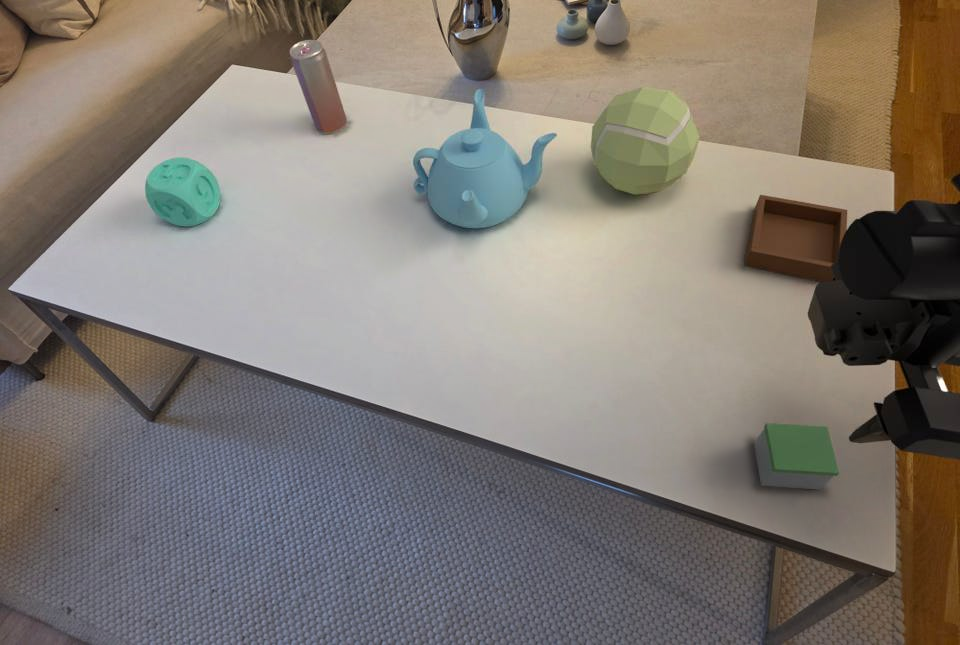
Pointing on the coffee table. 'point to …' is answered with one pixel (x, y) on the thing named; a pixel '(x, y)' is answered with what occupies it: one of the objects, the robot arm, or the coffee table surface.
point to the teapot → (478, 174)
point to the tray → (795, 238)
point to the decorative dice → (182, 191)
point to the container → (795, 456)
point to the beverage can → (318, 86)
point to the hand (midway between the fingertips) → (840, 395)
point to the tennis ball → (644, 140)
